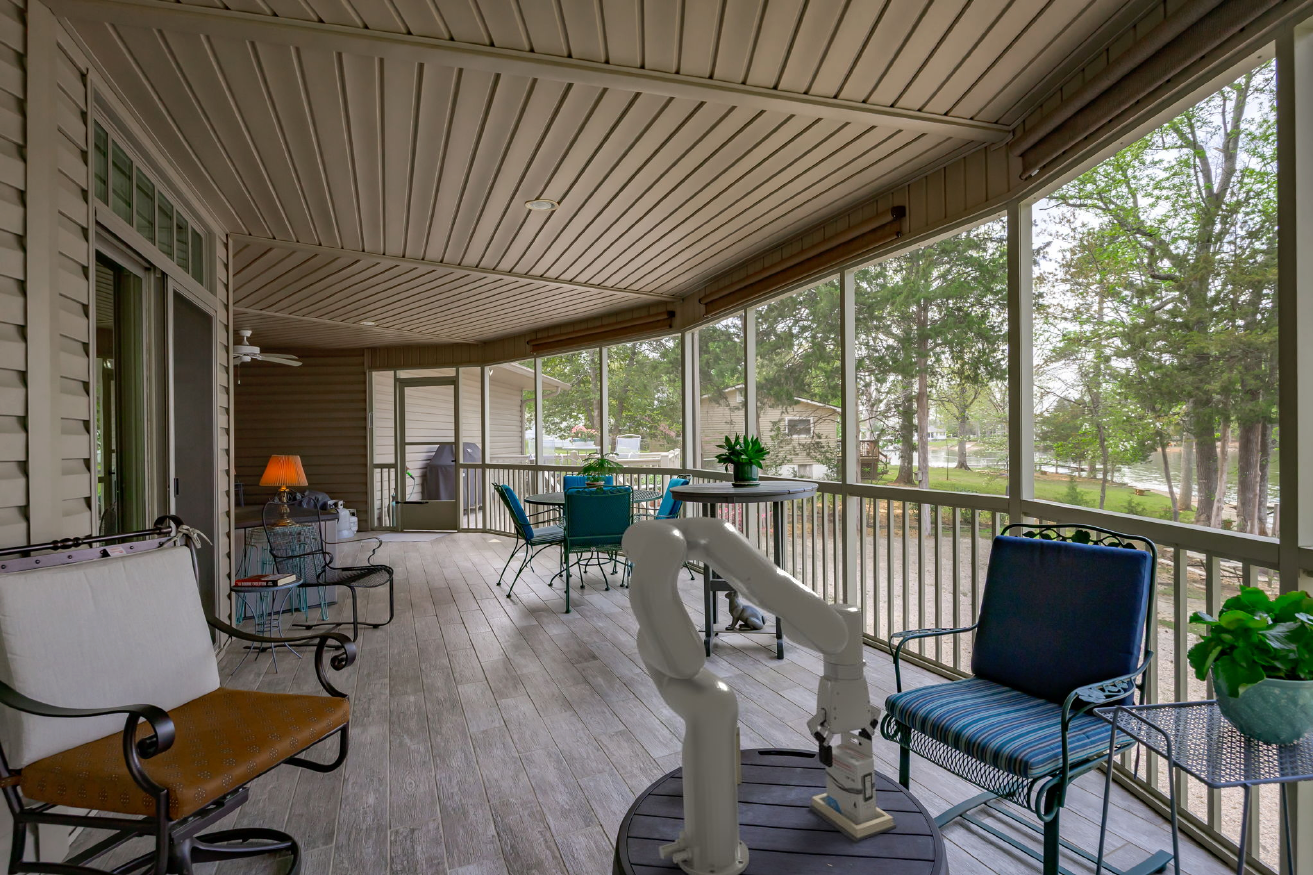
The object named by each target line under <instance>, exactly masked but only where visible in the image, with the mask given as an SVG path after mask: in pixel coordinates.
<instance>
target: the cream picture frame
mask: <svg viewBox="0 0 1313 875" xmlns="http://www.w3.org/2000/svg"><path fill="white" fill-rule="evenodd" d="M811 802H812V803H811V804H810V805H809V807H808V808H809V809H810V810H811V811H812V812H813V813H815V814H816V815H818V816H819V817H821V819H822V820H825V822H827V823H828V824H829V825H830V826H831V825H832V827H834V828H835V829H837V830H838V831H839V832H841V833H842V834H843V835H844V836H846V837H847V838H849V839H850V840H851V841H853V842H854V843H856V842H859V841H861V840H864V839H867V838H871V837H872V836H876V835H879V834H881V833H884V832H887V831H890V830H893V829H895V828H897V824H896V823H895V822H894V817H893V816H892V815H890V814H888V813H887V812H885V811H884V810H882V809H881V808H879V807H878V806H876V814H877V819H875V820H872V821H869V822H866V823H863V824H860V825H855V824H854V823H852V822H851V821H849V820H848V819H847V818H845V817H844V816H842V815H841V814H840V813H838V812H837V811H835V810H834V809H832V808H831V807H830V806H828V805H827V792H824V793H820V794H818V795H815V796H812V797H811Z"/></svg>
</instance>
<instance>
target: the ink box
mask: <svg viewBox="0 0 1313 875" xmlns="http://www.w3.org/2000/svg"><path fill="white" fill-rule="evenodd" d="M852 740H857V742H860V743H861V744H862V746H860V745H859V743H856V742H853V741H852ZM831 746H832V757H833V766H832V767H830V768H829V767H827V766H826V765H825V779H826V780H825V781H826V784H825V785H826V786H825V787H826V793H827V805H828V806H830V807H831V808H832V809H834V810H835V811H837V812H838V813H840V814H841V815H842V816H844V817H845V818H847V819H848V820H849V821H851V822H852V823H854V824H855V825H860V824H863V823H866V822H869V821H872V820H875V819H877V814H876V807H877V798H876V797H877V796H876V794H877V793H876V781H875V780H876V779H875V778H876V774H875V760H874V752H873V750H874V749H873V741H872V742H871V741H869V740H867V739H865V738H863V737H860V736H858V734H856V733H854V732H852V731H850V732H845V733H840V743H838V744H835V745H831Z"/></svg>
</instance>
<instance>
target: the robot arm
mask: <svg viewBox="0 0 1313 875" xmlns="http://www.w3.org/2000/svg"><path fill="white" fill-rule="evenodd" d="M621 538H622V539H621V549H622V553H623V555H624V556H625V558H626V559H627V561H629V562H630V563H632V564H633V566H632V571H631V575H630V578H629V584H628V600H629V604H630V607H631V610H632V613H633V615H634V617H635V619H636V622H637V623H638V625H639V628H638V631H637V634H636V648H637V652H638V655H639V658H640V659H641V661H642V663H643V666H644V667H645V669H646V671H647V672H648V675H649V677H650V678H651V681H652V683H653V684H654V686H655V688H656V690H657V692H658V694H659V695H660V697H661V698H662V700H663V701H664V703H665V704H666V705H667V706H668V708H669V709H670V710H672V712H674V713H675V714H676V715H677V716H679V717H680V718H681V719H682V720H683V721H684V724H685V731H684V736H683V740H682V746H681V769H682V793H683V794H682V795H683V796H682V797H683V820H684V823H683V824H684V829H683V830H680V831H679V838H677V839H675V840H674V842H671V843H667V844H662V845H659V847H658V850H659V856H660V858H661V859H662V860H664V859H669V858H671V857H672V861H673V863H674V864H678V866H679V868H681V870H682V871H683V872H684V873H686V874H687V875H740V874H741V873H743V872H744V871H745V870H746V868H747V867H748V865H749V863H750V852H749V848H748V846H747V845H746V844H745V842H744V841H742V840H741V839H740V822H739V802H738V801H739V799H738V798H739V796H738V784H737V772H736V730H737V724H738V722H739V714H740V713H739V708H740V707H739V700H738V697H737V695H736V692H735V691H734V689H733V688H732V687H731V685H730V684H729V683H728V682H727V681H726V680H724V679H723V678H721V677H720V676H718V675H716V674H715V673H714V672H712V671H710V670H708V669H706V668H704V667H705V664H706V660H707V657H706V656H707V652H706V646H705V643H704V641H703V639H702V637H701V635H700V633H699V632H698V630H697V628H696V626H695V624H694V622H693V620H692V619H691V616H690V615H689V613H688V611H687V609H686V607H685V605H684V603H683V601H682V597H681V596H680V593H679V590H678V580H679V575H680V572H681V569H682V567H683V566H684V563H685V562H689V561H690V562H692V561H696V562H701V563H704V564H706V565H707V566H708V567H709V568H710V569H711V570H712V571H713V572H715V573H716V574H717V575H718V576H720V577H721V579H723V580H724V581H725V582H726V583H728V585H730V586H731V587H732V588H733V589H734V590H735V591H736V592H737V593H738V594H739V595H740V596H741V597H742V598H743V599H745V600H746V601H748V602H749V603H751V604H752V605H753V606H755V607H757V608H759V609H761V610H763V611H764V612H767V613H769V614H771V615H772V616H773V615H774V616H775V617H777V618H779V619H780V628H781V632H782V634H783V635H784V637H785V638H786V639H787V640H789V641H790V642H792V643H793V644H795V645H799V646H801V647H803V648H806V649H808V650H810V651H813V652H816V653H818V654H821V655H823V656H822V662H823V675H821V676H819V677H820V678H819V681H818V686H817V695H816V713H815V714H814V715H813V716H812V717H811V718H810V719H808V721H807V722H806V726H807V728H808V730H809V732H810V735H811V737H812V738H813V739H815V741H816V742H818V761H819V762H820V763H821V764H822V765H824V766H825V767H826V766H827V767H829V768H830V767H832V766H833V757H832V746H833V745H831V741H832V740H833V739H834V737H835V735H841V733H845V732H853V731H858V730H859V731H858V733H857V735H858V736H860V737H863V738H865V739H867V740H869V741H871V742H872V743H873V737H874V736H875V733H876V731H875V730H876V728H877V726H878V725H879V720H880V716H881V714H882V709H881V708H879V707H877V706H875V705H873V704H871V698H870V692H869V687H868V681H867V678H866V675H864V672H865V671H864V668H866V667H867V661H866V660H864V645H863V644H864V643H863V640H864V639H863V618H862V617H863V616H862V611H861V609H860V608H859V607H858V606H856V605H853V604H850V603H840V602H838V603H828V602H826V601H825V600H824V598H822V597H821V596H819V595H818V594H817V593H816V592H815V591H813V590H812V589H811V588H809V587H807V586H806V585H805V584H803V583H802V582H800V581H799V580H798V579H796V578H795V577H793V575H791V574H790V573H789V572H787V571H786V570H783V569H782V568H781V567H779V566H778V565H777V564H776V563H774V562H773V561H772V560H771V559H770V558H769V557H768V556H767V555H765V553H763V552H762V551H761V550H760V548H759V547H757V546H756V545H755V544H754V542H752V541H750V538H749V539H748V537H747V536H745V535H744V534H743V533H742V532H741V531H740V530H739V529H738V528H737V526H735V525H733V524H732V523H731V522H729V521H728V520H725V519H722V518H718V517H708V516H691V517H680V518H677V517H676V518H661V519H644V520H638V521H636V522H634V523H632V524H631V525H629V526H628V527H627V528H626V530H625V531H624V533H623V534H622V537H621ZM818 727H819V728H818ZM857 742H858V741H857ZM857 744H858V745H860V746H862V744H861V743H860V742H858V743H857Z"/></svg>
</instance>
